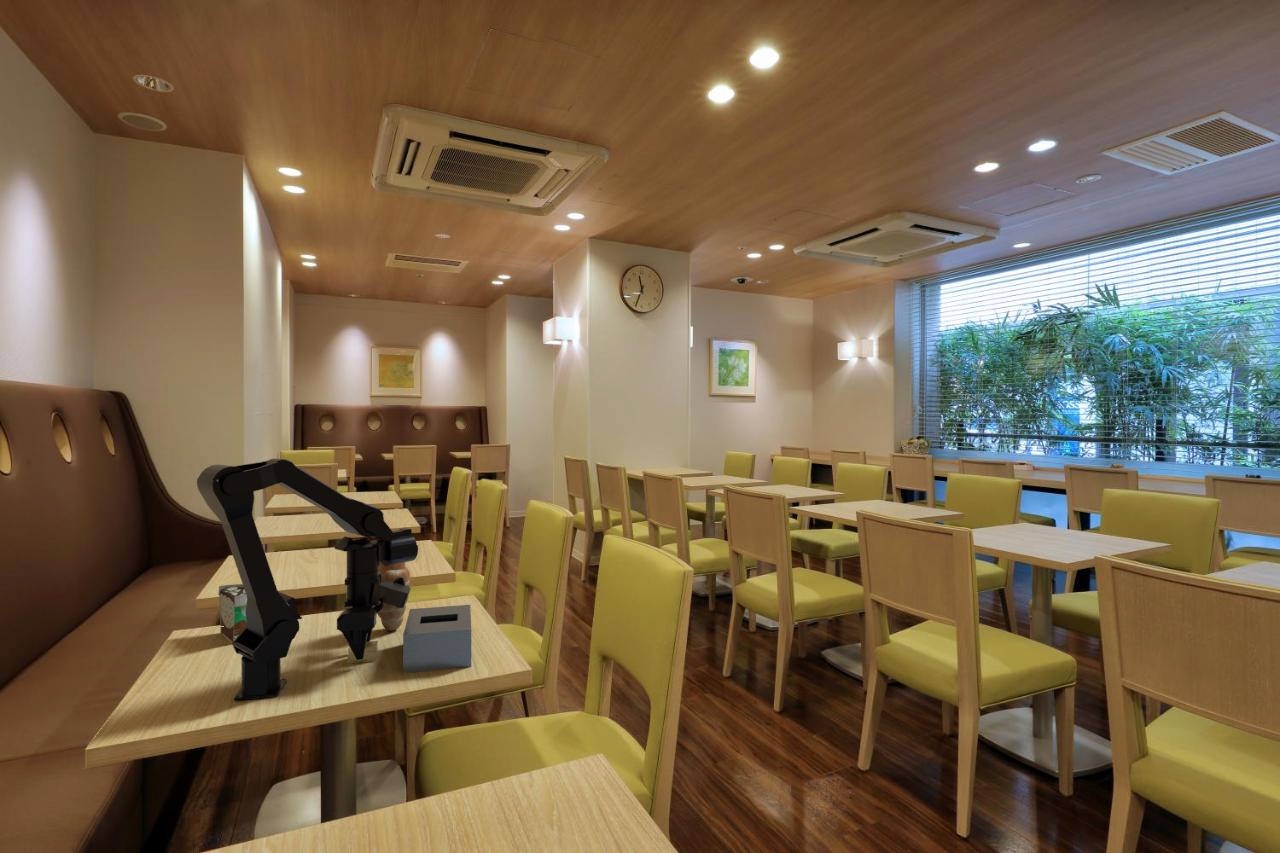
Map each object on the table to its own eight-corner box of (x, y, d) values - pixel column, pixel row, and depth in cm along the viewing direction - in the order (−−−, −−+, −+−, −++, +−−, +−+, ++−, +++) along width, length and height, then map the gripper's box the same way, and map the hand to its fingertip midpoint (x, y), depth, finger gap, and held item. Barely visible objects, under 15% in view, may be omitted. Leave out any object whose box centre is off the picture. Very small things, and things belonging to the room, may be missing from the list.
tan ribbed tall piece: (370, 627, 141) (370, 546, 141) (407, 621, 145) (407, 542, 145) (373, 639, 133) (373, 553, 133) (413, 633, 137) (413, 550, 137)
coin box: (471, 666, 120) (471, 629, 119) (403, 673, 116) (403, 634, 116) (470, 637, 135) (470, 604, 135) (410, 642, 132) (410, 609, 132)
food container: (269, 638, 134) (269, 591, 134) (235, 646, 130) (235, 597, 129) (250, 624, 142) (250, 580, 142) (218, 631, 138) (218, 585, 138)
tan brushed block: (376, 661, 122) (376, 645, 122) (348, 664, 121) (347, 648, 121) (377, 655, 125) (377, 640, 125) (350, 658, 124) (350, 643, 123)
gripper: (403, 580, 116) (403, 665, 116) (411, 557, 134) (411, 631, 134) (336, 584, 113) (336, 671, 113) (353, 560, 131) (353, 636, 131)
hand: (363, 651), depth 123 cm, fingers open, 8 cm apart
